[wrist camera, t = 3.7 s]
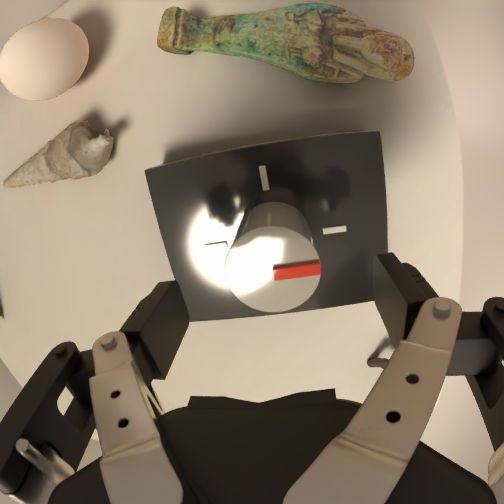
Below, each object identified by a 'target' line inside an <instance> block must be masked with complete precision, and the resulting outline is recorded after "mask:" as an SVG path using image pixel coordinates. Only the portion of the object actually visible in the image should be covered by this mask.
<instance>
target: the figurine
mask: <svg viewBox="0 0 504 504" xmlns="http://www.w3.org/2000/svg"><path fill="white" fill-rule="evenodd" d="M157 44H158V47H159V48H161V49H162V50H164V51H166V52H170V53H174V54H184V55H188V54H190V53H191V52H192V51H207V52H213V53H219V54H225V55H234V56H244V57H248V58H252V59H256V60H260V61H264V62H267V63H270V64H272V65H275V66H278V67H281V68H284V69H286V70H289V71H292V72H294V73H296V74H298V75H300V76H301V77H303V78H305V79H309V80H314V81H322V82H331V83H354V82H357V81H360V80H361V78H362V76H363V75H367V76H371V77H375V78H380V79H385V80H392V81H398V80H401V79H404V78H406V77H408V76H409V75H410V73H411V72H412V70H413V67H414V53H413V50H412V48H411V46H410V45H409V43H408V42H407V41H406V40H405V39H403V38H402V37H399V36H397V35H395V34H391V33H388V32H385V31H382V30H378V29H375V28H370V27H366V25H365V23H364V21H363V20H362V19H360V18H359V17H357V16H355V15H353V14H352V13H351V12H349V11H347V10H345V9H342V8H339V7H336V6H331V5H324V4H318V3H308V4H297V5H294V6H290V7H286V8H281V9H275V10H270V11H264V12H259V13H252V14H244V15H231V16H220V17H214V18H210V19H201V18H198V17H195V16H193V15H191V14H190V13H189V12H188V11H187V10H185V9H180V8H179V7H171V8H168V9H166V10H165V11H164V14H163V16H162V20H161V23H160V27H159V31H158V38H157Z"/></svg>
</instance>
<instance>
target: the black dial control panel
mask: <svg viewBox="0 0 504 504" xmlns="http://www.w3.org/2000/svg"><path fill="white" fill-rule="evenodd" d="M145 175H146V179H147V183H148V187H149V191H150V195H151V199H152V202H153V206H154V210H155V214H156V217H157V221H158V225H159V228H160V232H161V235H162V239H163V242H164V245H165V249H166V252H167V255H168V259H169V262H170V265H171V268H172V271H173V275H174V278H175V281H177V282H178V283H179V285H180V288H181V291H182V294H183V297H184V300H185V303H186V306H187V309H188V312H189V322H194V321H209V320H222V319H234V318H245V317H255V316H265V315H274V314H283V313H292V312H300V311H308V310H316V309H323V308H330V307H337V306H344V305H351V304H357V303H363V302H369V301H375V300H374V293H373V260H374V255H378V254H385V253H388V238H387V204H386V187H385V174H384V163H383V153H382V144H381V136H380V131H354V132H342V133H332V134H322V135H313V136H305V137H297V138H290V139H283V140H276V141H270V142H264V143H258V144H252V145H246V146H241V147H236V148H230V149H225V150H220V151H216V152H211V153H206V154H202V155H197V156H193V157H189V158H184V159H180V160H176V161H172V162H168V163H164V164H161V165H158V166H155V167H152V168H149V169H146V170H145ZM266 202H283V203H286V204H289V205H291V206H293V207H295V208H297V209H298V210H299V211H300V212H301V213H302V214H303V215H304V216H305V217H306V219H307V221H308V223H309V225H310V228H311V231H312V234H313V238H314V241H315V244H316V248H317V251H318V255H319V258H320V263H321V276H320V280H319V283H318V286H317V288H316V290H315V291H314V293H313V294H312V295H311V296H310V297H309V298H308V299H307V300H306V301H305V302H304V303H302V304H301V305H299V306H297V307H295V308H293V309H291V310H287V311H282V312H264V311H260V310H256V309H254V308H251V307H249V306H247V305H246V304H244V303H243V302H241V301H240V300H239V299H238V298H237V297H236V296H235V295H234V294H233V292H232V291H231V289H230V287H229V285H228V283H227V280H226V277H225V260H226V257H227V254H228V251H229V249H230V246H231V244H232V242H233V239H234V237H235V234H236V232H237V229H238V227H239V225H240V222H241V220H242V219H243V217H244V216H245V215H246V213H247V212H248V211H250V210H251V209H252V208H254V207H255V206H257V205H259V204H262V203H266Z"/></svg>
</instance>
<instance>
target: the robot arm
mask: <svg viewBox="0 0 504 504" xmlns="http://www.w3.org/2000/svg"><path fill="white" fill-rule="evenodd" d="M373 293H374V300H375V304H376V307H377V309H378V311H379V313H380V315H381V318H382V320H383V322H384V325H385V327H386V329H387V331H388V334H389V336H390V338H391V341H392V343H393V346H394V348H395V350H394V352H393V354H392V356H391V358H390V359H389V361H388V363H387V365H386V367H385V368H384V370H383V372H382V373H381V375H380V377H379V378H378V380H377V382H376V383H375V385H374V387H373V388H372V390H371V391H370V393H369V395H368V396H367V398H366V399H365V401H364V402H363V404H361V403H358V402H355V401H351V400H344V399H336V394H335V388H334V389H326V390H318V391H310V392H300V393H295V394H292V395H288V396H284V397H281V398H277V399H273V400H269V401H265V402H261V403H256V402H250V401H244V400H238V399H233V398H228V397H212V396H190V400H189V403H188V406H186V407H181V408H177V409H174V410H172V411H169V412H167V413H165V411H164V409H163V407H162V405H161V403H160V401H159V399H158V396H157V394H156V392H155V390H154V388H153V386H152V384H151V382H152V380H153V379H159V380H165V378H166V376H167V374H168V371H169V369H170V367H171V364H172V362H173V360H174V357H175V355H176V353H177V351H178V348H179V346H180V344H181V342H182V339H183V337H184V335H185V333H186V330H187V328H188V326H189V312H188V309H187V306H186V303H185V300H184V297H183V294H182V291H181V288H180V285H179V283H178V282H177V281H175V280H174V281H165V282H159V283H158V284H157V285H156V287H155V288H154V289H153V291H152V292H151V293H150V294H149V295H148V296H147V297H145V298H144V299H143V300H141V301H140V303H139V304H138V305H137V307H136V309H135V310H134V311H133V312H132V314H131V315H130V316H129V318H128V319H127V321H126V322H125V323H124V325H123V326H122V327H121V329H120V330H119V332H118V331H117V332H110V333H107V334H105V335H103V336H101V337H100V338H99V339H98V340H96V342H95V343H94V344H93V347H92V350H87V351H82V352H80V351H79V350H78V348H77V346H76V345H75V343H74V342H64V343H61V344H59V345H57V346H56V347H55V348H53V349H52V350H51V351H50V353H49V354H48V355H47V357H46V358H45V359H44V361H43V362H42V363H41V365H40V366H39V367H38V369H37V370H36V371H35V373H34V374H33V375H32V377H31V378H30V379H29V381H28V382H27V384H26V385H25V386H24V388H23V389H22V391H21V392H20V394H19V395H18V397H17V398H16V399H15V401H14V402H13V404H12V405H11V407H10V408H9V410H8V412H7V413H6V415H5V416H4V418H3V419H2V421H1V422H0V491H1V492H2V493H4V494H5V495H6V496H8V497H9V498H10V499H12V500H13V501H15V502H16V503H18V504H504V366H503V365H502V363H501V362H502V360H504V298H502V297H493V298H490V299H488V300H487V301H486V302H485V303H484V306H483V310H482V312H462V309H461V306H460V305H459V304H458V303H457V302H455V301H454V300H452V299H449V298H444V297H439V296H438V295H437V294H436V292H435V291H434V290H433V288H432V287H431V286H430V285H429V283H428V282H427V281H426V280H425V278H424V277H423V276H421V273H420V272H419V271H418V270H417V269H416V268H415V267H414V266H412V265H410V264H408V263H401V262H400V261H399V260H398V258H397V257H396V256H395V255H394V253H392V252H391V253H385V254H378V255H374V260H373ZM454 375H455V376H457V375H465V376H466V379H467V381H468V383H469V385H470V388H471V390H472V392H473V395H474V397H475V400H476V402H477V404H478V407H479V409H480V412H481V415H482V417H483V419H484V422H485V425H486V428H487V431H488V433H489V436H490V439H491V442H492V445H493V448H494V451H495V453H494V454H493V455H492V457H491V459H490V462H489V466H488V473H489V476H488V484H487V483H486V482H485V481H484V480H482V479H481V478H479V477H478V476H476V475H474V474H473V473H471V472H469V471H467V470H466V469H464V468H463V467H461V466H459V465H458V464H456V463H454V462H453V461H451V460H450V459H448V458H446V457H445V456H443V455H442V454H440V453H438V452H437V451H435V450H434V449H432V448H431V447H429V446H427V445H426V444H424V443H423V442H421V441H420V438H421V436H422V434H423V432H424V430H425V428H426V425H427V423H428V421H429V418H430V416H431V413H432V411H433V409H434V406H435V404H436V401H437V398H438V396H439V393H440V390H441V388H442V385H443V382H444V379H445V376H454ZM65 386H66V387H67V389H68V390H69V391H70V393H71V394H72V395H73V397H74V398H73V400H72V402H71V404H70V405H69V407H68V409H67V411H66V413H65V414H64V416H63V415H62V414H61V413H60V411H59V410H58V407H57V400H58V398H59V396H60V394H61V393H62V391H63V389H64V388H65ZM95 427H97V432H98V436H99V441H100V445H101V449H102V456H101V457H99V458H98V459H96V460H95V461H93V462H92V463H90V464H89V465H87V466H85V467H84V468H82V469H81V470H79V471H78V472H76V471H77V468H78V466H79V464H80V461H81V459H82V457H83V454H84V452H85V449H86V447H87V445H88V443H89V441H90V438H91V436H92V434H93V432H94V430H95Z"/></svg>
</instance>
